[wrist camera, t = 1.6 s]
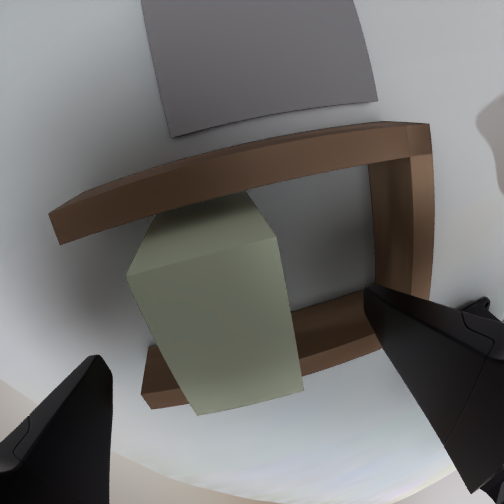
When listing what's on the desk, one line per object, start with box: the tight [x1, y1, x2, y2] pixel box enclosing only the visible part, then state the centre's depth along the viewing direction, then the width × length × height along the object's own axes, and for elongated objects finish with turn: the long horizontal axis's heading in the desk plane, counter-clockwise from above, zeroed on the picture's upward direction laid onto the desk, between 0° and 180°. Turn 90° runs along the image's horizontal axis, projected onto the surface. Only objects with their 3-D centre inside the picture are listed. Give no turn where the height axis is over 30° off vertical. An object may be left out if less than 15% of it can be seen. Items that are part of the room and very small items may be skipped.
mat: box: [141, 0, 378, 138], centre depth 10 cm, size 9×9×1 cm
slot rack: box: [49, 121, 435, 409], centre depth 13 cm, size 10×14×4 cm
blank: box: [125, 191, 304, 416], centre depth 11 cm, size 6×4×6 cm, turn 12°
